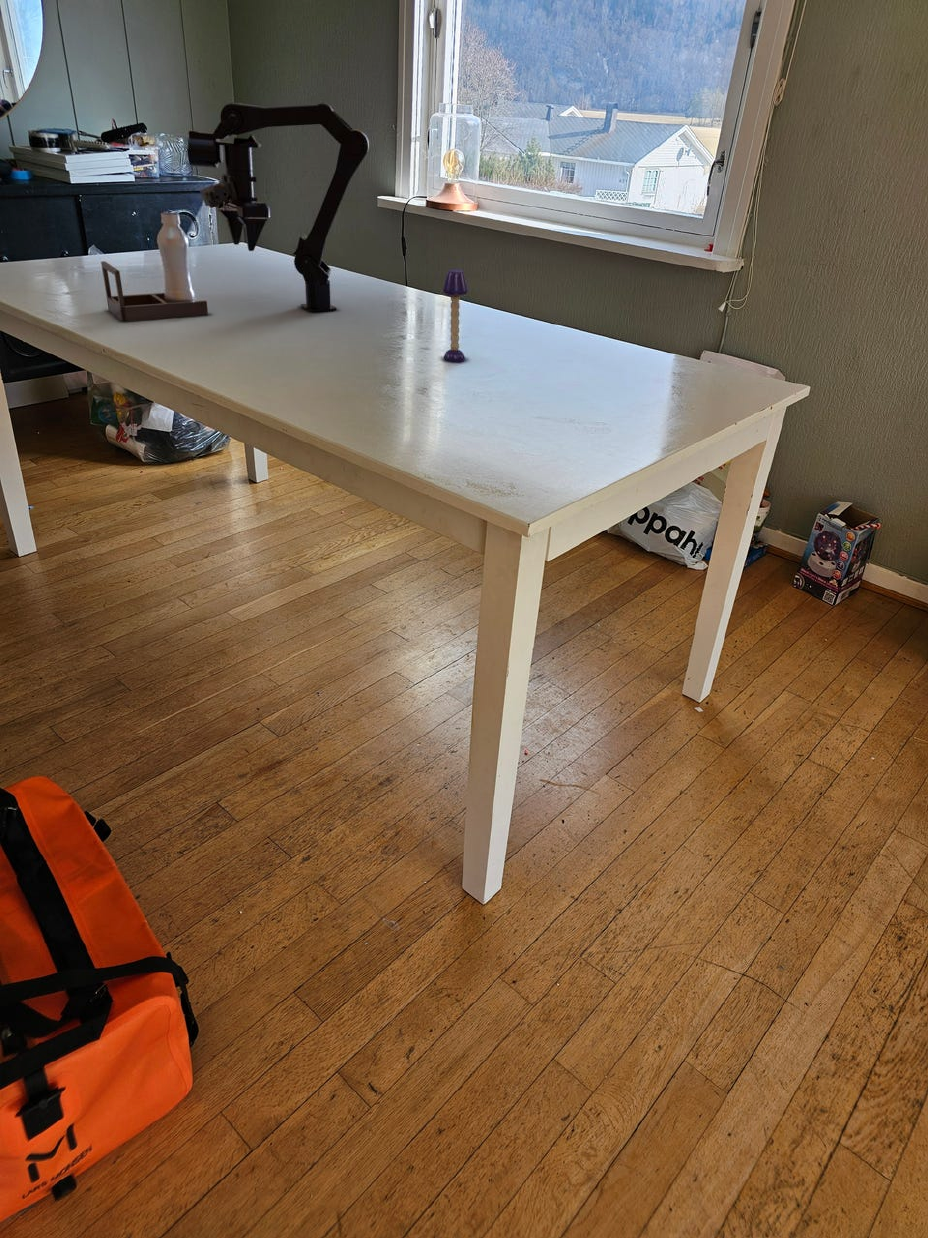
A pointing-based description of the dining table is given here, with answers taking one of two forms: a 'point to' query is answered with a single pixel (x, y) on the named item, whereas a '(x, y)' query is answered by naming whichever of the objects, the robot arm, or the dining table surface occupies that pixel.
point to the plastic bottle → (175, 260)
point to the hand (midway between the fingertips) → (243, 247)
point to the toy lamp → (455, 311)
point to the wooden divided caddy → (146, 303)
